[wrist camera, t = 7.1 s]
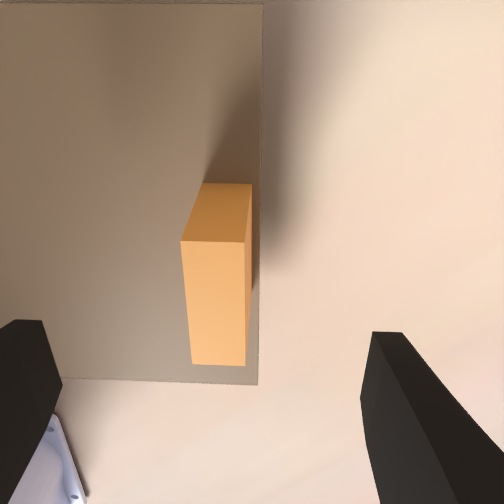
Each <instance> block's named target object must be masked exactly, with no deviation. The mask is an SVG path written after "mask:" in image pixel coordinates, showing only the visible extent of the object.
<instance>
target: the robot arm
mask: <svg viewBox="0 0 504 504" xmlns="http://www.w3.org/2000/svg"><path fill="white" fill-rule="evenodd" d="M62 386H63V385H62V381H61V378H60V375H59V372H58V369H57V366H56V363H55V360H54V356H53V353H52V350H51V347H50V344H49V341H48V338H47V335H46V331H45V328H44V325H43V322H42V320H24V319H14V320H13V321H11V322H10V323H8V324H6V325H5V326H3V327H2V328H0V504H86V503H87V499H86V496H85V493H84V490H83V487H82V485H81V482H80V479H79V476H78V473H77V470H76V467H75V464H74V462H73V459H72V456H71V453H70V450H69V447H68V444H67V441H66V439H65V436H64V433H63V430H62V427H61V424H60V421H59V419H58V417H57V416H56V415H55V414H53V411H54V409H55V406H56V403H57V400H58V397H59V394H60V391H61V389H62ZM360 401H361V409H362V417H363V425H364V433H365V440H366V446H367V450H368V454H369V458H370V463H371V467H372V471H373V475H374V479H375V483H376V487H377V492H378V496H379V500H380V504H504V452H503V451H502V450H501V449H500V448H499V447H498V446H497V445H496V444H495V443H494V442H493V441H492V440H491V438H490V437H489V436H488V435H487V434H486V433H485V432H484V431H483V430H482V428H481V427H480V426H479V425H478V424H477V423H476V422H475V421H474V419H473V418H472V417H471V416H470V415H469V414H468V413H467V411H466V410H465V409H464V408H463V407H462V406H461V404H460V403H459V402H458V401H457V400H456V399H455V398H454V396H453V395H452V394H451V393H450V392H449V390H448V389H447V388H446V387H445V386H444V384H443V383H442V382H441V381H440V379H439V378H438V377H437V376H436V374H435V373H434V372H433V371H432V370H431V368H430V367H429V366H428V365H427V363H426V362H425V361H424V359H423V358H422V357H421V356H420V354H419V353H418V352H417V351H416V349H415V348H414V347H413V345H412V344H411V343H410V342H409V340H408V339H407V338H406V337H405V336H404V334H403V333H402V332H374V331H373V332H372V337H371V343H370V348H369V353H368V358H367V364H366V369H365V374H364V379H363V385H362V390H361V395H360Z"/></svg>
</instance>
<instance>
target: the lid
mask: <svg viewBox="0 0 504 504" xmlns="http://www.w3.org/2000/svg"><path fill="white" fill-rule="evenodd" d="M262 44H263V4H229V3H0V328H2V327H3V326H5V325H6V324H8V323H10V322H11V321H13V320H14V319H24V320H42V322H43V325H44V328H45V331H46V335H47V338H48V341H49V344H50V347H51V350H52V353H53V356H54V360H55V363H56V366H57V369H58V372H59V375H60V378H82V379H106V380H131V381H156V382H181V383H206V384H231V385H256V386H258V350H259V274H260V197H261V121H262Z"/></svg>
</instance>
